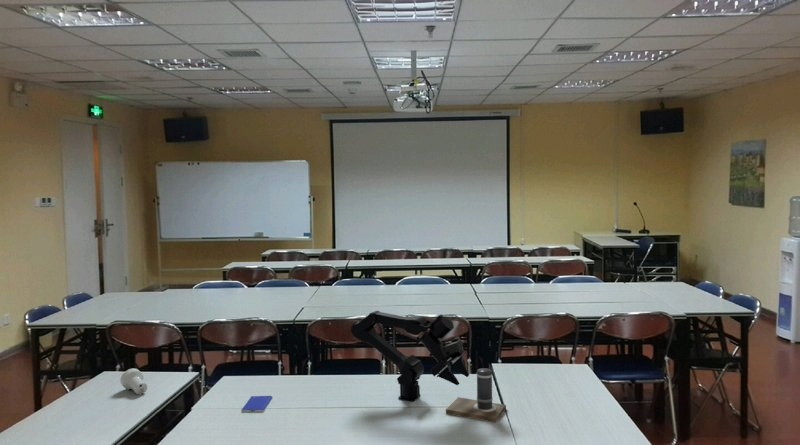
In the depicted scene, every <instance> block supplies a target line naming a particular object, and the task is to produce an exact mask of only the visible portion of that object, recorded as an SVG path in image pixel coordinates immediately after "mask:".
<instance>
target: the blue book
mask: <svg viewBox="0 0 800 445" xmlns="http://www.w3.org/2000/svg"><path fill="white" fill-rule="evenodd" d="M272 400H273V396H272V395H251V396H250V398H249V399H248V400H247V402H246V403H245V404H244V406H242V409H241V413H253V412H254V413H255V412H256V413H258V412H259V413H262V412H263V413H264V412H265V411H266V409H267V408H268V406H269V405H270V403H271V401H272Z"/></svg>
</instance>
